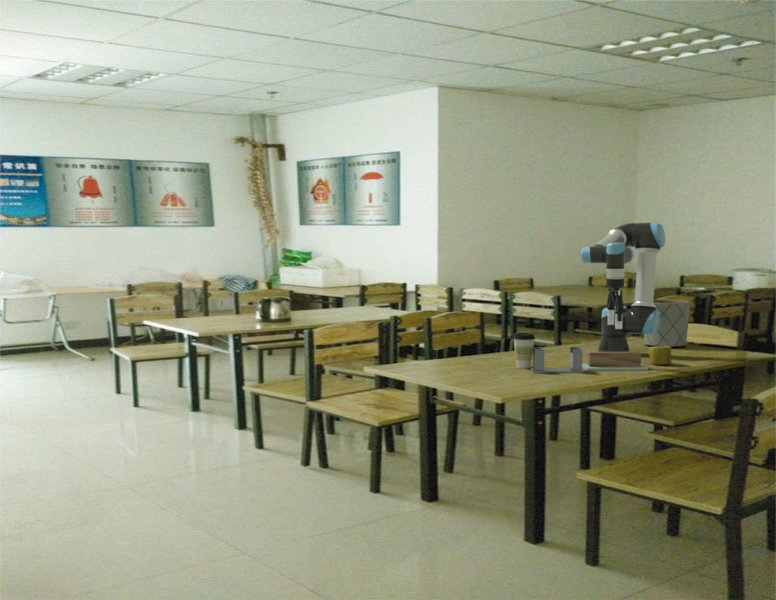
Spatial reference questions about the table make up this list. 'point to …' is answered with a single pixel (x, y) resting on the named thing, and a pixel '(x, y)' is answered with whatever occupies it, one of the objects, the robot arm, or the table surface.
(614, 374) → the table surface
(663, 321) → the planter
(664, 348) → the mug
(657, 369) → the table surface
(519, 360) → the coffee cup
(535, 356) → the standards
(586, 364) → the mat
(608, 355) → the rail
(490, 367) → the table surface
